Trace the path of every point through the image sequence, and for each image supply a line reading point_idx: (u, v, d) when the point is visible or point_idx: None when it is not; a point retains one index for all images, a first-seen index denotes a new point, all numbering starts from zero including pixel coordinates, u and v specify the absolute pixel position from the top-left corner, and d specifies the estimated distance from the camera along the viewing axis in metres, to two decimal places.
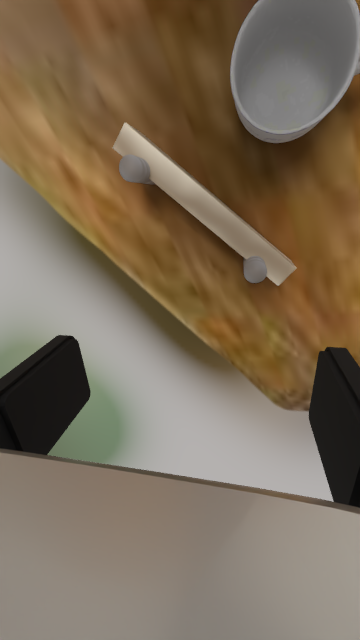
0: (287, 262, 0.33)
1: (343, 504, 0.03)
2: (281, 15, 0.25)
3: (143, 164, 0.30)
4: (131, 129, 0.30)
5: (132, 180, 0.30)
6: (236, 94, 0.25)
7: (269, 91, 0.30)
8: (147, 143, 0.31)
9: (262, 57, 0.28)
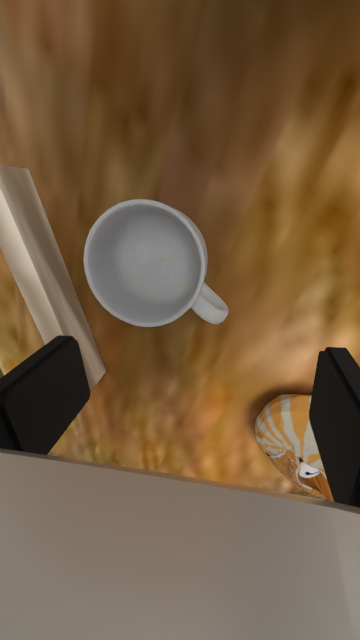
0: None
1: (343, 504, 0.03)
2: None
3: None
4: None
5: None
6: (87, 249, 0.23)
7: (151, 247, 0.29)
8: (4, 201, 0.26)
9: (158, 219, 0.27)
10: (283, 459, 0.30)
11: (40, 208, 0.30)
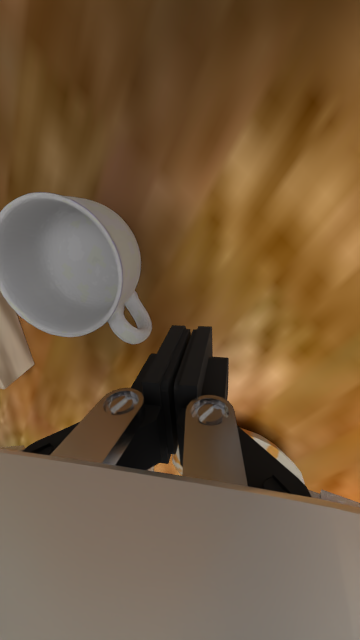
0: None
1: (343, 504, 0.03)
2: None
3: None
4: None
5: None
6: None
7: (85, 244, 0.26)
8: None
9: None
10: None
11: None
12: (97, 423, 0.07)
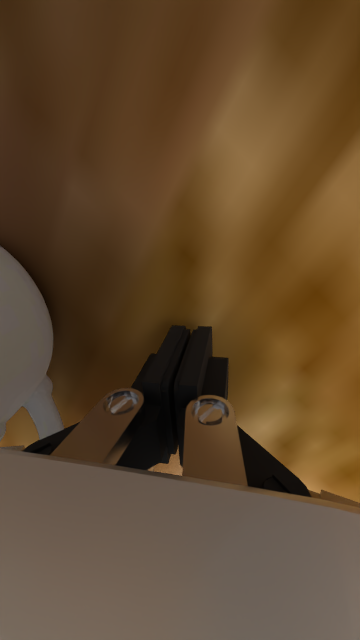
0: None
1: (343, 504, 0.03)
2: None
3: None
4: None
5: None
6: None
7: None
8: None
9: None
10: None
11: None
12: (97, 423, 0.07)
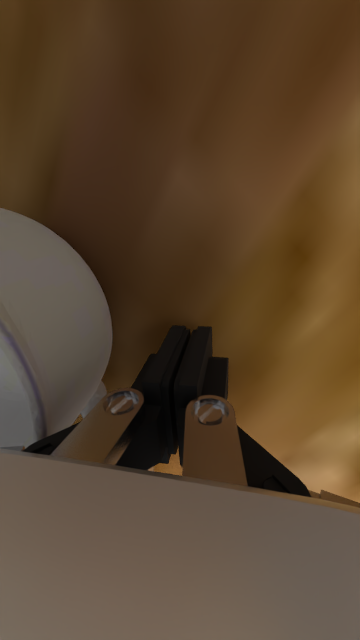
0: None
1: (343, 504, 0.03)
2: None
3: None
4: None
5: None
6: None
7: None
8: None
9: None
10: None
11: None
12: (97, 423, 0.07)
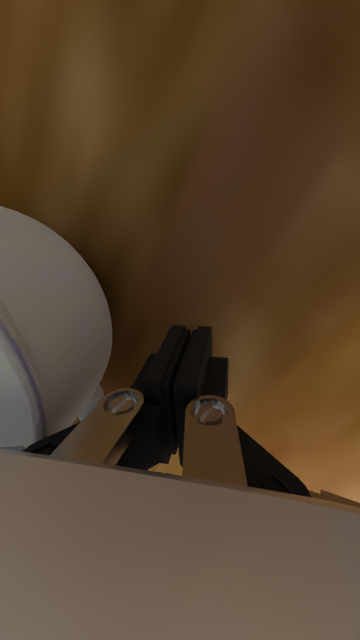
0: None
1: (343, 504, 0.03)
2: None
3: None
4: None
5: None
6: None
7: None
8: None
9: None
10: None
11: None
12: (97, 423, 0.07)
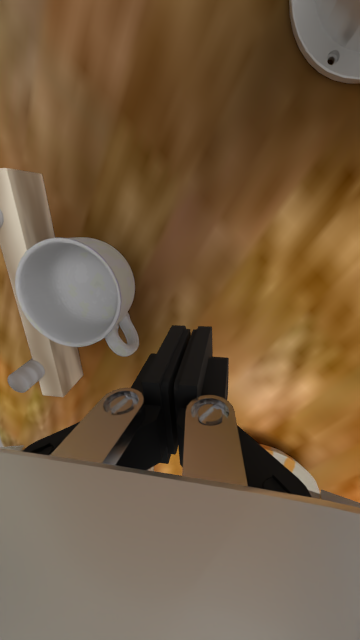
0: (59, 388, 0.34)
1: (343, 504, 0.03)
2: None
3: None
4: (8, 180, 0.25)
5: None
6: (20, 267, 0.25)
7: (90, 270, 0.32)
8: (14, 206, 0.26)
9: None
10: None
11: (47, 213, 0.30)
12: (97, 423, 0.07)
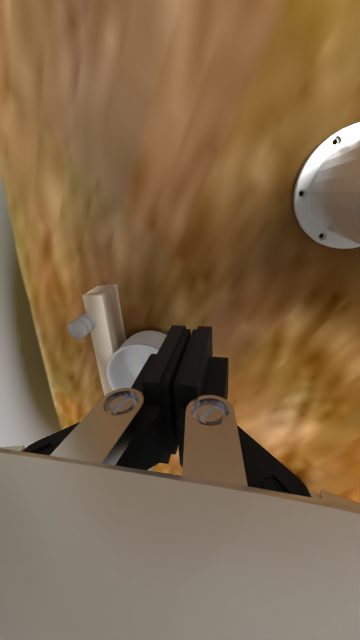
0: None
1: (343, 504, 0.03)
2: None
3: (88, 332, 0.37)
4: (102, 302, 0.37)
5: (72, 335, 0.37)
6: (111, 359, 0.38)
7: (149, 348, 0.44)
8: (104, 317, 0.38)
9: None
10: None
11: (119, 310, 0.42)
12: (97, 423, 0.07)
